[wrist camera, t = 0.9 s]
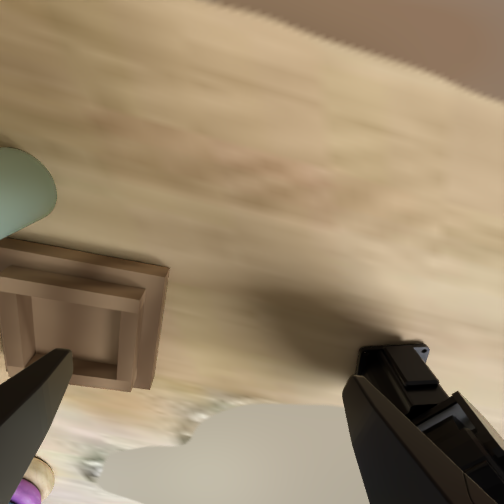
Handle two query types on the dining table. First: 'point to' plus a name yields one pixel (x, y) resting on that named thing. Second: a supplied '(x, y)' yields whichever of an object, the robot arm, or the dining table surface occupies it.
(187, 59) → the dining table surface
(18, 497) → the stacking toy
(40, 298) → the brown wooden square tray
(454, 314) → the dining table surface
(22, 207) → the cup
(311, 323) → the dining table surface
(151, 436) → the dining table surface
